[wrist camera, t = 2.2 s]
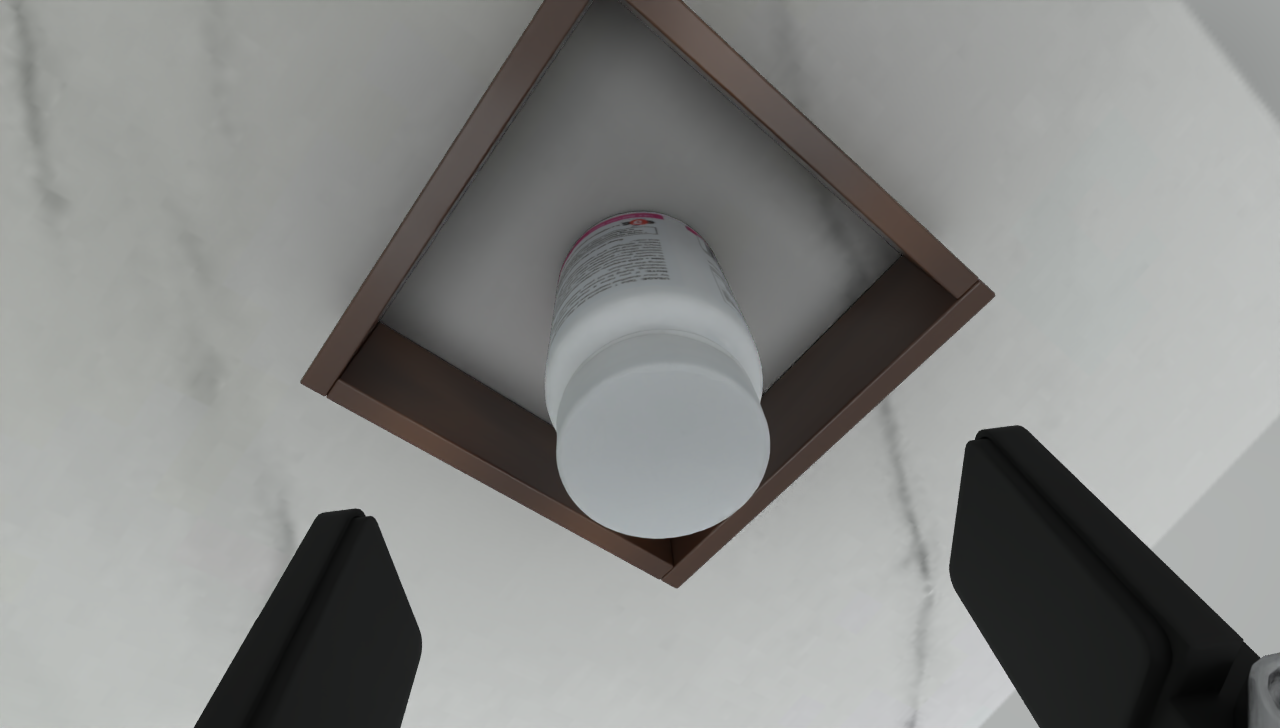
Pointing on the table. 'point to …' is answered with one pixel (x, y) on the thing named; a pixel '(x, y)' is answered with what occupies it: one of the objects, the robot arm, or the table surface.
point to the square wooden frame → (793, 407)
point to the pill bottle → (653, 381)
